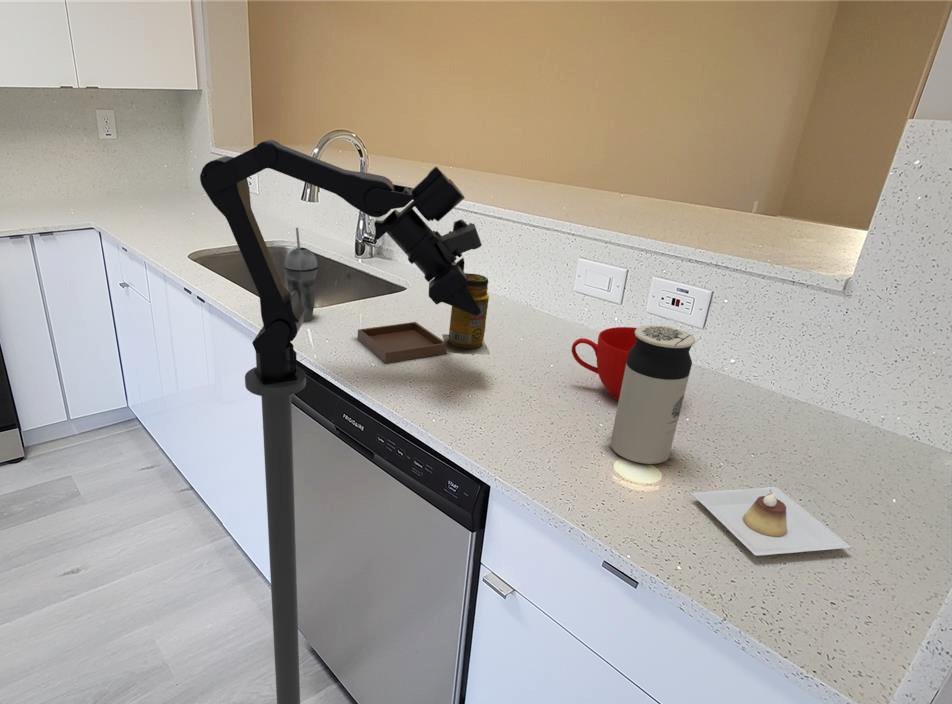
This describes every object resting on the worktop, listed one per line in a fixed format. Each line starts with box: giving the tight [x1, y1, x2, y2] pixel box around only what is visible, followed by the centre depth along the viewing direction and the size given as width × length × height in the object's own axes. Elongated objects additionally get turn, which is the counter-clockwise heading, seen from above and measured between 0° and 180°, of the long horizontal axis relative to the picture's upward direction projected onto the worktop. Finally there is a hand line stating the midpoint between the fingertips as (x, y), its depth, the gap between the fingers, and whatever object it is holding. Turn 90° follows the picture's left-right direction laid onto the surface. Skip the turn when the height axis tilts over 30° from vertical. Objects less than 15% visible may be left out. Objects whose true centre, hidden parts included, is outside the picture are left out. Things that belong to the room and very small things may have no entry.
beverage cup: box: [283, 227, 319, 323], centre depth 138 cm, size 7×7×20 cm
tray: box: [357, 321, 448, 364], centre depth 128 cm, size 13×13×2 cm
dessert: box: [691, 486, 852, 557], centre depth 77 cm, size 12×12×5 cm
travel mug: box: [609, 324, 696, 465], centre depth 90 cm, size 8×8×18 cm
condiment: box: [441, 273, 491, 356], centre depth 110 cm, size 7×8×12 cm
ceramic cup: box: [571, 326, 638, 401], centre depth 109 cm, size 13×17×10 cm
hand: (477, 307), depth 110 cm, fingers closed on condiment, 6 cm apart
